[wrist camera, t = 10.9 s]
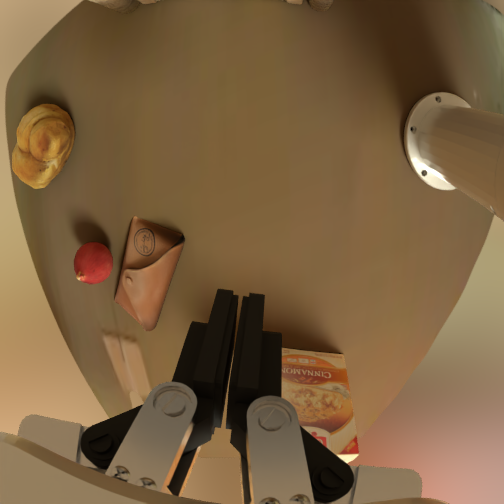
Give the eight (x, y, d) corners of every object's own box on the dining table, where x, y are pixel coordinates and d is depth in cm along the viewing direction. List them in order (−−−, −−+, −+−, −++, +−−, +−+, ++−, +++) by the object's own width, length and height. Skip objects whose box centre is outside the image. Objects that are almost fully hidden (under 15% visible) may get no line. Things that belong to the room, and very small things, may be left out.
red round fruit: (121, 270, 41) (97, 303, 34) (90, 261, 41) (64, 290, 34) (122, 237, 38) (94, 267, 31) (89, 228, 38) (59, 255, 31)
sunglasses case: (130, 211, 36) (134, 241, 32) (178, 218, 40) (189, 246, 36) (113, 303, 45) (117, 335, 40) (151, 304, 49) (159, 334, 44)
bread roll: (56, 195, 36) (22, 216, 29) (22, 158, 33) (-13, 174, 26) (93, 127, 31) (55, 138, 24) (54, 89, 28) (15, 94, 21)
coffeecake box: (344, 353, 46) (361, 454, 30) (330, 377, 50) (340, 470, 33) (259, 342, 46) (250, 451, 29) (252, 368, 50) (242, 466, 33)
